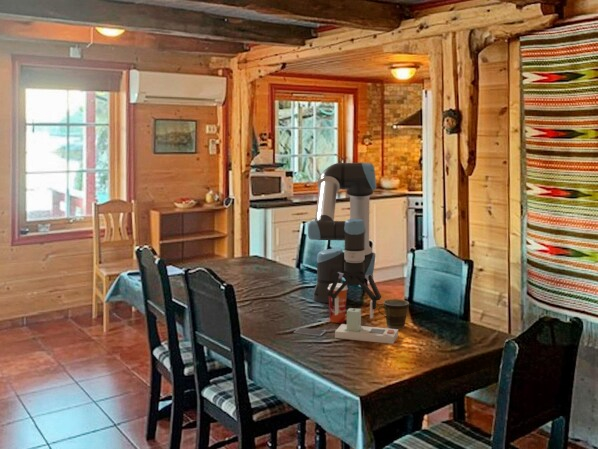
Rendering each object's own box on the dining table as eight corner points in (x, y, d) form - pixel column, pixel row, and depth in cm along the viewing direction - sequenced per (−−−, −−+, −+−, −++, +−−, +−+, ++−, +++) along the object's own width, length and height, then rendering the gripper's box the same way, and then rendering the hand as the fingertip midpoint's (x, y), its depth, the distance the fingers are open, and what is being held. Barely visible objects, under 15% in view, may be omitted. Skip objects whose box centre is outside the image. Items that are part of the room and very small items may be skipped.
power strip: (341, 330, 245) (341, 322, 245) (398, 335, 238) (398, 327, 238) (334, 337, 236) (334, 329, 236) (393, 343, 229) (393, 335, 229)
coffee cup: (330, 324, 253) (330, 287, 251) (325, 318, 261) (325, 283, 259) (350, 323, 255) (350, 286, 253) (344, 317, 263) (345, 282, 261)
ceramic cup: (400, 322, 256) (400, 298, 255) (413, 329, 247) (413, 304, 245) (371, 325, 251) (372, 301, 250) (384, 332, 242) (384, 307, 241)
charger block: (349, 333, 241) (349, 307, 240) (360, 334, 240) (361, 308, 239) (346, 337, 237) (346, 310, 236) (358, 338, 236) (358, 311, 234)
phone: (299, 330, 248) (299, 327, 248) (325, 333, 244) (325, 330, 243) (293, 334, 242) (293, 331, 242) (320, 337, 238) (320, 334, 238)
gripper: (319, 260, 235) (319, 315, 239) (385, 265, 227) (384, 321, 231) (325, 256, 242) (325, 310, 246) (389, 260, 234) (388, 316, 238)
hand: (353, 315), depth 238 cm, fingers open, 13 cm apart
